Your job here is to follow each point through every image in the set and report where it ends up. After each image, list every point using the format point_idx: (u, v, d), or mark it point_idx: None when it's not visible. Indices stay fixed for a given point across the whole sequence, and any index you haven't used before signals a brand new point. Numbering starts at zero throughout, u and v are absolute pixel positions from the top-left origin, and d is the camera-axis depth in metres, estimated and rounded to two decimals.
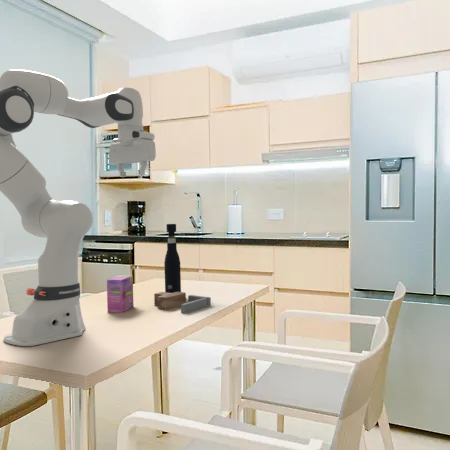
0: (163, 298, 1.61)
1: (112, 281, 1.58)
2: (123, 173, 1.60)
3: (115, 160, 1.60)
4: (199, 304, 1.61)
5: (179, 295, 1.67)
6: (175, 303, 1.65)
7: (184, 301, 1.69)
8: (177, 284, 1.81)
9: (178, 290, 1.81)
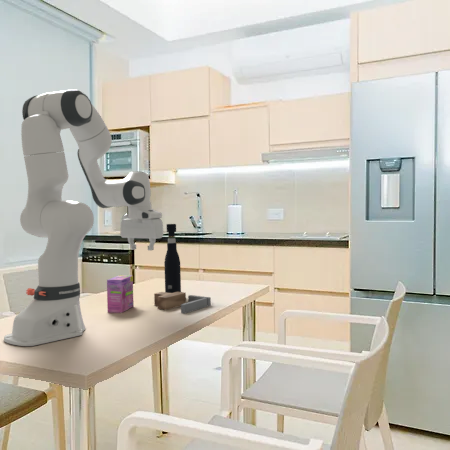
0: (163, 298, 1.61)
1: (112, 281, 1.58)
2: (134, 246, 1.76)
3: (126, 234, 1.75)
4: (199, 304, 1.61)
5: (179, 295, 1.67)
6: (175, 303, 1.65)
7: (184, 301, 1.69)
8: (177, 284, 1.81)
9: (178, 290, 1.81)
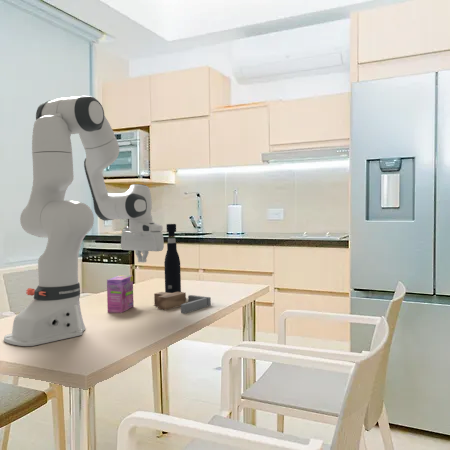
0: (163, 298, 1.61)
1: (112, 281, 1.58)
2: None
3: (126, 246, 1.77)
4: (199, 304, 1.61)
5: (179, 295, 1.67)
6: (175, 303, 1.65)
7: (184, 301, 1.69)
8: (177, 284, 1.81)
9: (178, 290, 1.81)
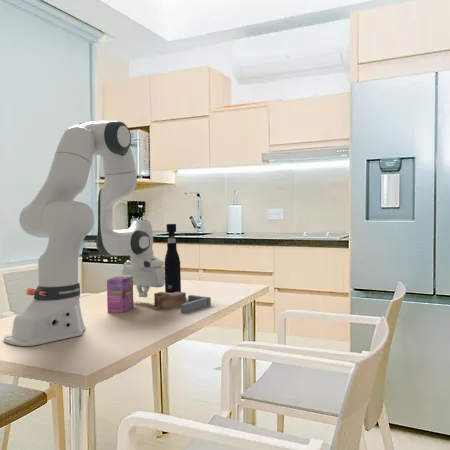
0: (163, 298, 1.61)
1: (112, 281, 1.58)
2: None
3: None
4: (199, 304, 1.61)
5: (179, 295, 1.67)
6: (175, 303, 1.65)
7: (184, 301, 1.69)
8: (177, 284, 1.81)
9: (178, 290, 1.81)
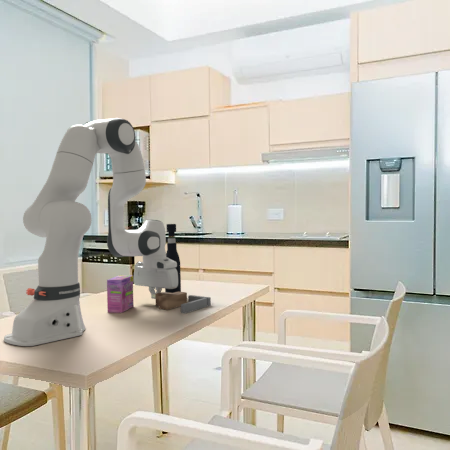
0: (164, 298, 1.61)
1: (112, 281, 1.58)
2: None
3: (139, 282, 1.73)
4: (199, 304, 1.61)
5: (180, 295, 1.66)
6: (176, 303, 1.65)
7: (185, 301, 1.69)
8: None
9: (178, 290, 1.81)
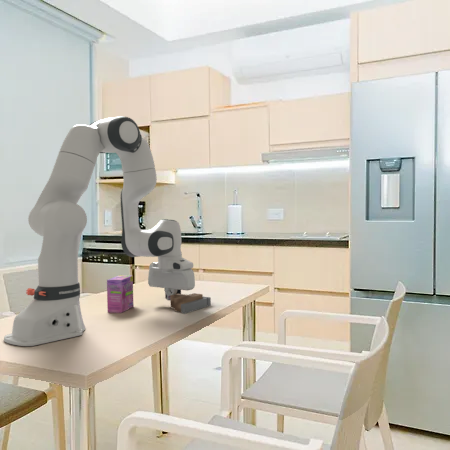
0: (180, 300, 1.57)
1: (112, 281, 1.58)
2: None
3: (154, 283, 1.69)
4: (199, 304, 1.61)
5: (196, 297, 1.62)
6: None
7: None
8: None
9: (178, 290, 1.81)
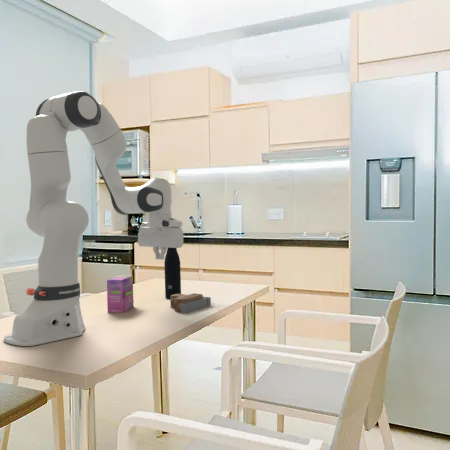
0: (180, 300, 1.57)
1: (112, 281, 1.58)
2: None
3: (144, 243, 1.71)
4: (199, 304, 1.61)
5: (196, 297, 1.62)
6: None
7: None
8: (177, 284, 1.81)
9: (178, 290, 1.81)
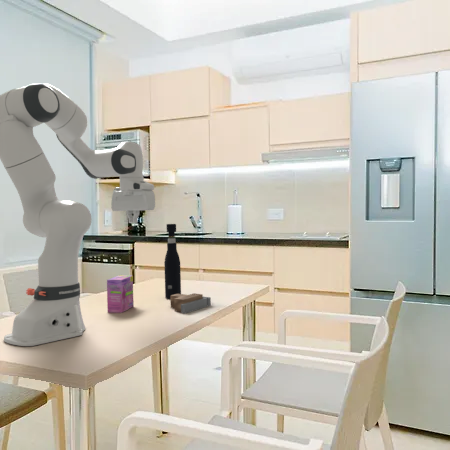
0: (180, 300, 1.57)
1: (112, 281, 1.58)
2: None
3: (117, 207, 1.71)
4: (199, 304, 1.61)
5: (196, 297, 1.62)
6: None
7: None
8: (177, 284, 1.81)
9: (178, 290, 1.81)
